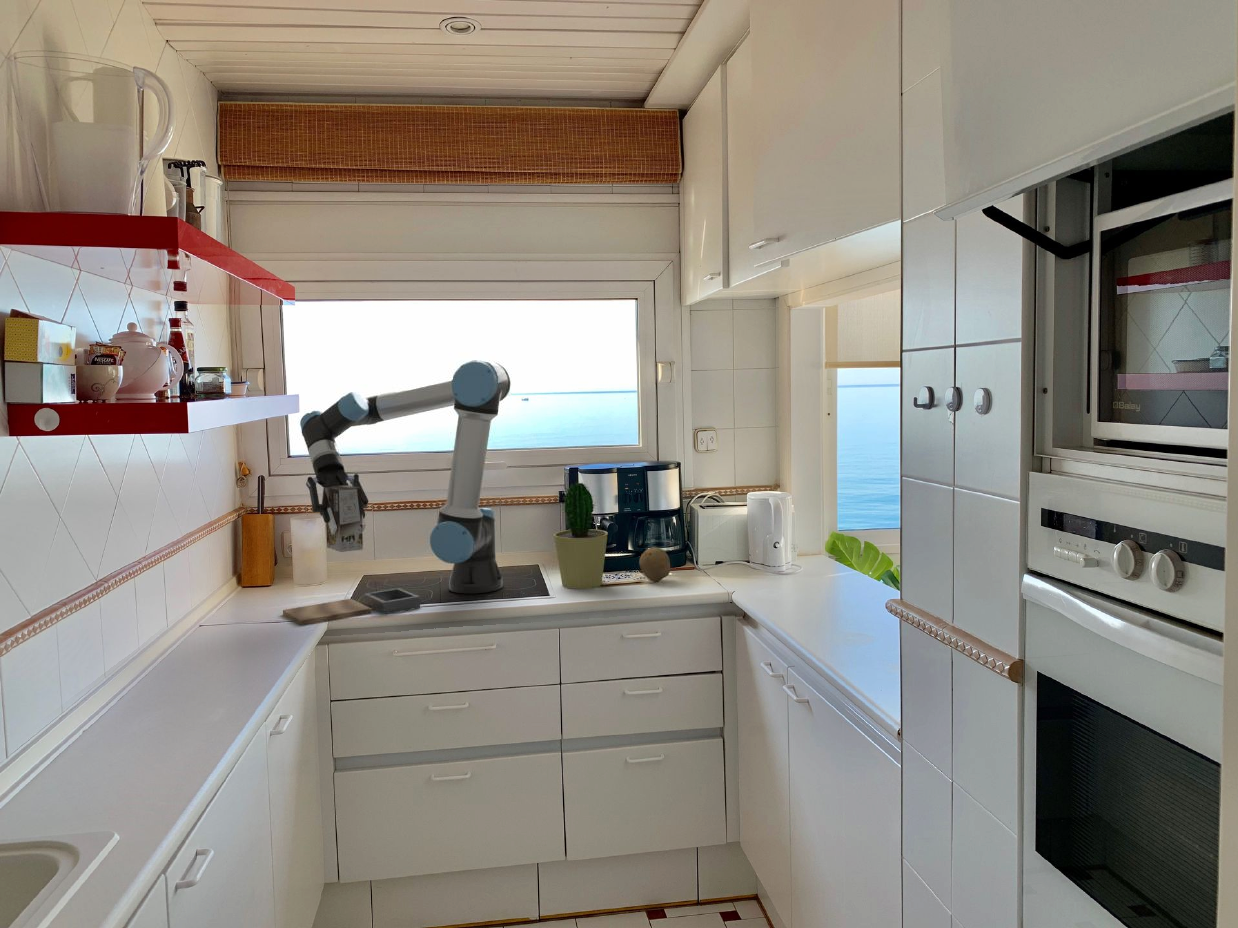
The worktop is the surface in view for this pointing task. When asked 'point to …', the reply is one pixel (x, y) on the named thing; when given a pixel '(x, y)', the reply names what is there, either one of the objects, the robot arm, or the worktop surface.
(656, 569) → the coconut
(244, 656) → the worktop surface
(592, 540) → the potted cactus
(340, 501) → the coffee box
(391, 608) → the holder
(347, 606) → the board
